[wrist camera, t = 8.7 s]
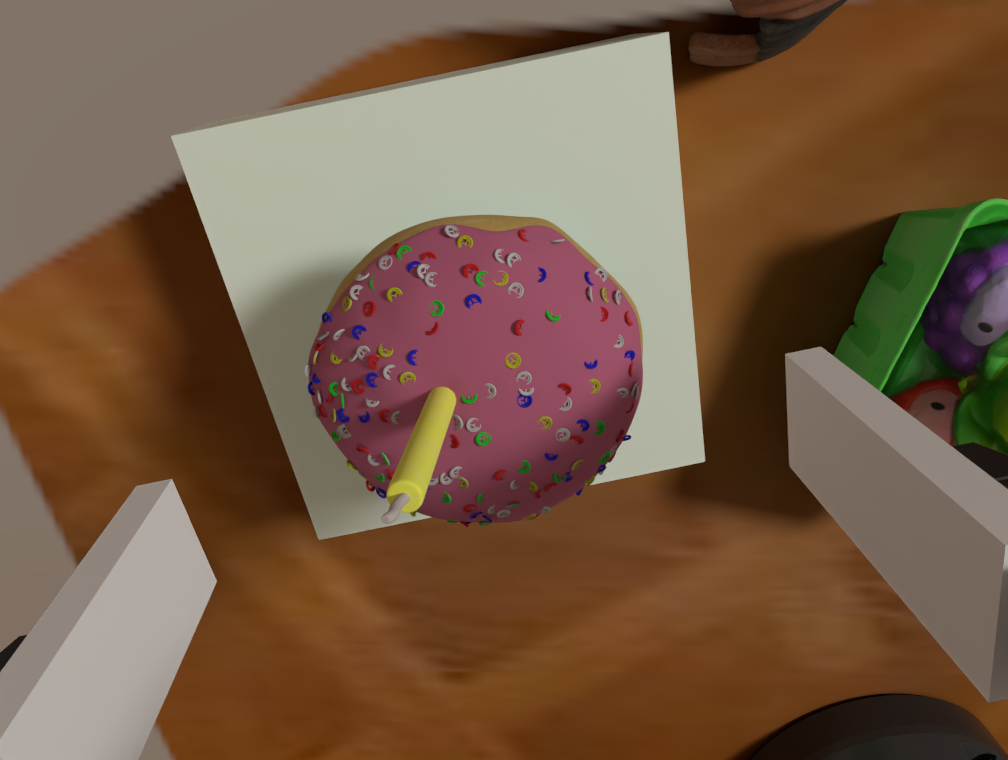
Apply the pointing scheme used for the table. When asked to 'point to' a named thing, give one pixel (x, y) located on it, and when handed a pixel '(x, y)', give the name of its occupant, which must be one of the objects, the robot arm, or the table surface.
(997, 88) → the table surface
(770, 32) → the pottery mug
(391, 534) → the table surface
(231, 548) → the table surface
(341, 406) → the cupcake
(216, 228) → the sage stand
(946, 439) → the fruit basket
